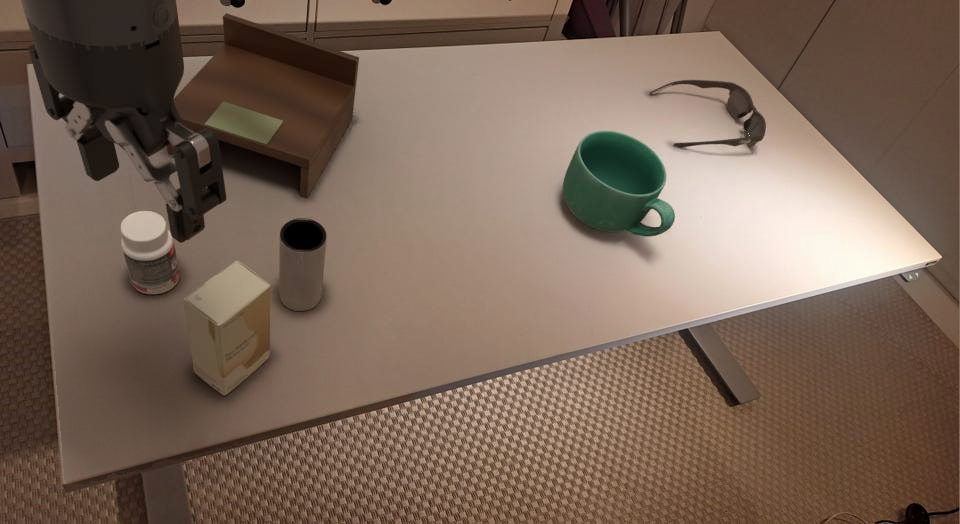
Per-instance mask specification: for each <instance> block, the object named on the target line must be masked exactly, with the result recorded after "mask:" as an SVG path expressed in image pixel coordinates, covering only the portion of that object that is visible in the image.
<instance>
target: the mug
mask: <svg viewBox="0 0 960 524" xmlns="http://www.w3.org/2000/svg"><path fill="white" fill-rule="evenodd" d="M570 159H571V160H570V162H569V164H568V167H567V168H566V171H565V173H564V174H565V175H564V178H563V183H562V195H563V198H564V201H565V204H566V206H567V208H568V210H570V212H571V213H572V214H573V215H574V216H575V218H577V219H578V220H579V221H581V222H582V223H584V224H585V225H587V226H588V227H591V228H593V229H594V230H598V231H602V232H606V233H607V232H608V233H619V232H620V233H621V232H625V231H627V232H628V233H631V234H633V235H636V236H640V237H650V238H651V237H656V236H659V235H662V234H663V233H666V232H667V231H669V230H670V229H671V228H672V227H673V225H674V222H675V219H676V213H675V210H674V208H673V206H672V205H671V204H670V203H668V202H667V201H665V200H662V199H661V198H658V197H659V196H660V195H661V193H662V191H663V190H664V188H665V186H666V183H667V171H666V167H665V165H664V162H663V161H662V160H661V158H660V157H659V155H658V154H657V153H656V152H655V151H654V150H653V149H652V148H651V147H650V146H648V145H647V144H646V143H644V142H642V141H641V140H639V139H637V138H635V137H633V136H631V135H628V134H625V133H623V132H617V131H613V130H598V131H593V132H590V133H588V134H587V135H585V136H584V137H582V139H581V140H580V141H579V142H578V144H577V147H576V148H575V151H574V154H573V155H572V157H571V158H570ZM651 210H654V211H655V212H657V213H658V215H659V217H660V225H659V226H650V225H647V224H645V223H643V222H642V221H643V220H644V219H645V218H646V216H647V215H648V214H649V213H650V211H651Z"/></svg>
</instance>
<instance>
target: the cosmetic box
mask: <svg viewBox="0 0 960 524" xmlns="http://www.w3.org/2000/svg"><path fill="white" fill-rule="evenodd" d="M183 305H184V312H185V319H186V327H187V333H188V339H189V346H190V354H191V361H192V362H191V363H192V367H193V368H192V369H193V372H194V374H196V375H197V376H198V377H199V378H200V379H201V380H203V382H205V383H206V384H207V385H209V386H210V387H211V388H212V389H214V390H215V391H216V392H218V393H219V394H220V395H222V396H227V395H228V394H230V393H231V392H232V391H233V390H234V389H236V388H237V387H238V386H240V385H241V384H242V383H243V382H244V381H245V380H246V379H248V378H249V377H250V376H251V375H252V374H253V373H255V371H256V370H258V369H259V368H260V367H261V366H262V365H263V364H264V363H265V362H267V360H269V358H270V356H271V344H270V343H271V284H270V283H269V282H267V281H266V280H265V279H264V278H262V277H261V276H260V275H259V274H257V273H256V272H255V271H254V270H252V269H251V268H249V266H246V265H245V264H244V263H243V262H242V261H240V260H235V261H234V262H232V263H231V264H229V265H228V266H227V267H225V268H224V269H222V270H221V271H219V272H218V273H216V274H215V275H213V276H212V277H210V278H209V279H208V280H207V281H205V282H204V283H202V284H201V285H200V286H198V287H197V288H196V289H194V290H193V291H192V292H190V293H189V294H187V295H186V296H184V298H183Z"/></svg>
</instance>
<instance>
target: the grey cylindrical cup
mask: <svg viewBox="0 0 960 524" xmlns="http://www.w3.org/2000/svg"><path fill="white" fill-rule="evenodd" d="M327 236H328V235H327V231H326V229H325V228H324V226H323V225H322V224H321V223H320V222H318V221H316V220H314V219H311V218H305V217H299V218H294V219H291V220H289V221H287V222H286V223H285V224H283V225H282V227H281V229H280V231H279V254H278V255H279V258H278V259H279V262H278V265H279V267H278V270H279V271H278V273H279V274H278V276H279V277H278V278H279V279H278V282H279V283H278V295H279V300H280V301H281V303H282V305H283V306H284V307H286V308H287V309H289V310H292V311H296V312H306V311H309V310H311V309H314V308H315V307H316V306H318V305H319V303H320V301H321V299H322V294H323V282H324V274H325V273H324V272H325V261H326V260H325V259H326V249H327V238H328V237H327Z"/></svg>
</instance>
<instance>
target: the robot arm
mask: <svg viewBox="0 0 960 524" xmlns="http://www.w3.org/2000/svg"><path fill="white" fill-rule="evenodd" d="M20 2H21V5H22V9H23V12H24V15H25V19H26V22H27V25H28V28H29V31H30V34H31V38H32V41H33V44H30V45H28V47H27V49H28V53H29V56H30V60H31V63H32V67H33V70H34V74H35V76H36V81H37V85H38V87H39V92H40V95H41V98H42V101H43V106H44V109H45V111H46V113H47V114H48V116H49V117H50V118H51V119H53V120H54V121H59V120H61V119H62V120H63V121H64V122H65V123H66V124H65V127H64V128H65V130H66V132H67V134H68V135H69V137H71V139H73V141H76V144H77V147H78V150H79V151H78V152H79V153H80V156H81V161H82V164H83V167H84V170H85V174H86V176H87V177H89V178H91V179H92V180H93V181H95V182H99V181H101V180H104V179H105V178H107V177H109V176H111V175H112V174H114V173H116V172H117V171H118V170H119V168H120V162H119V157H118V154H117V150H116V145H118V146H119V147H120V148H121V149H122V150H123V151H124V152H125V154H127V156H128V158H129V160H130V161H131V163H132V164H133V165H134V167H135V169H136V171H137V172H138V173H139V176H140V177H141V178H142V179H143V181H145V182H146V183H153V184H154V185H155V187H156V188H157V190H158V191H159V193H160V195H161V196H162V198H163V199H164V201H165V203H166V204H165V209H166V213H167V221H168V225H169V231H170V232H171V236H172V237H173V239H174V241H175V240H176V241H177V242H178V243H180V244H182V243H184V242H186V241H189V240H191V239H192V238H194V237H196V236H197V235H198V234H199V233H201V232H203V231H204V230H205V228H206V224H205V214H207V213H208V212H209V211H211V210H213V209H214V208H216V207H217V206H220V205H222V204H224V203H225V202H226V201H227V198H228V197H227V191H226V184H225V177H224V171H223V169H224V168H223V164H222V163H223V162H222V154H221V148H220V142H219V141H220V140H218V138H217V136H216V134H215V133H214V132H213V131H212V130H211V129H209V128H206V129H204V130H202V131H200V132H198V133H196V132H193V131H191V130H190V129H188V128H187V127H185V126H183V125H182V120H181V117H180V115H179V113H178V111H177V109H176V106H175V103H174V100H173V99H174V98H175V95H176V93H177V90H178V88H179V85H180V83H181V81H182V79H183V77H184V73H185V62H184V54H183V45H182V39H181V30H180V21H179V20H180V19H179V14H178V5H177V0H20ZM60 95H62V96H61V97H60ZM169 143H171V144H172V146H173V148H172V150H173V155H172V154H171V156H170V157H168V158H166V159H164V160H162V161H161V162H159V163H158V164H155V165H154V164H153V162H152V161H151V160H150V157H151V156H153V155H155V154H158V153H159V152H161V151H162V150H164V149H165V148H167V145H168V144H169ZM174 173H177V178H178V184H179V188H177V189H176V188H175V186H174V184H173V183H172V181H171V178H170V177H171V175H173V174H174Z"/></svg>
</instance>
